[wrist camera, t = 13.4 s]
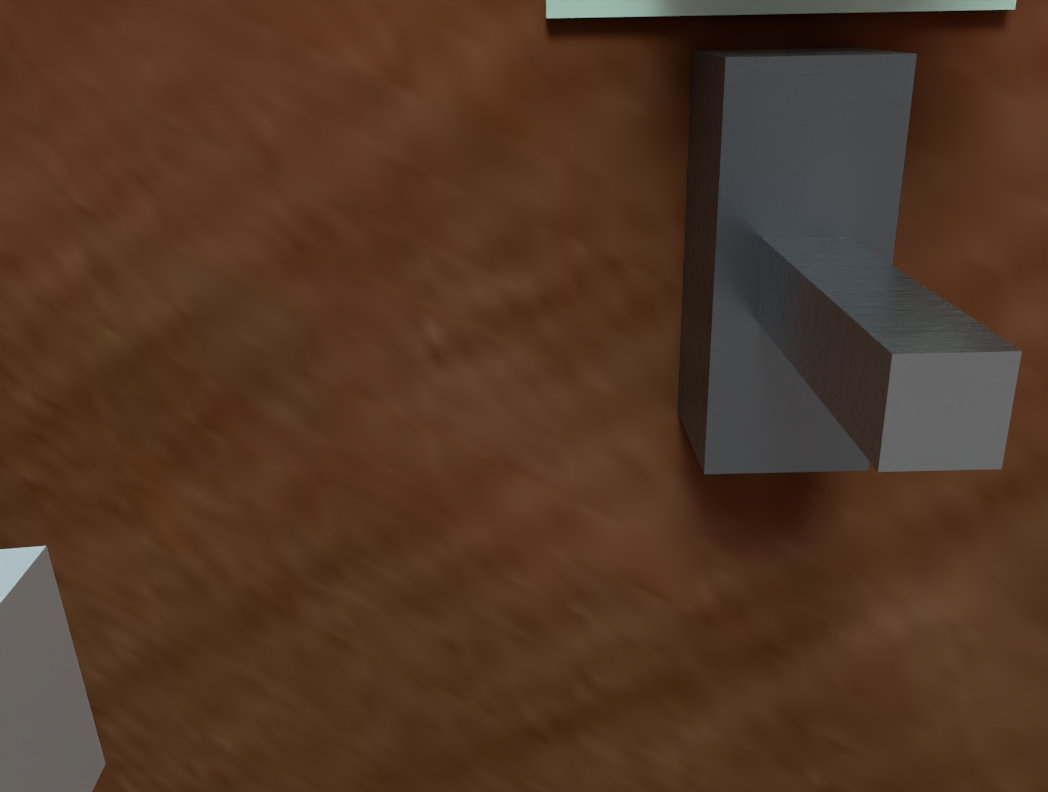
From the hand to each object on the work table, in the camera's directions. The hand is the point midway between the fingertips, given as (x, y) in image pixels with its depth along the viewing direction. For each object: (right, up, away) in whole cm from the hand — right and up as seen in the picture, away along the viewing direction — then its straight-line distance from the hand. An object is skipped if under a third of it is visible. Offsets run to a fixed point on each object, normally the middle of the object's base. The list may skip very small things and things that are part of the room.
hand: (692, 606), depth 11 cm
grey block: (+6, +7, +22) cm, 24 cm away
